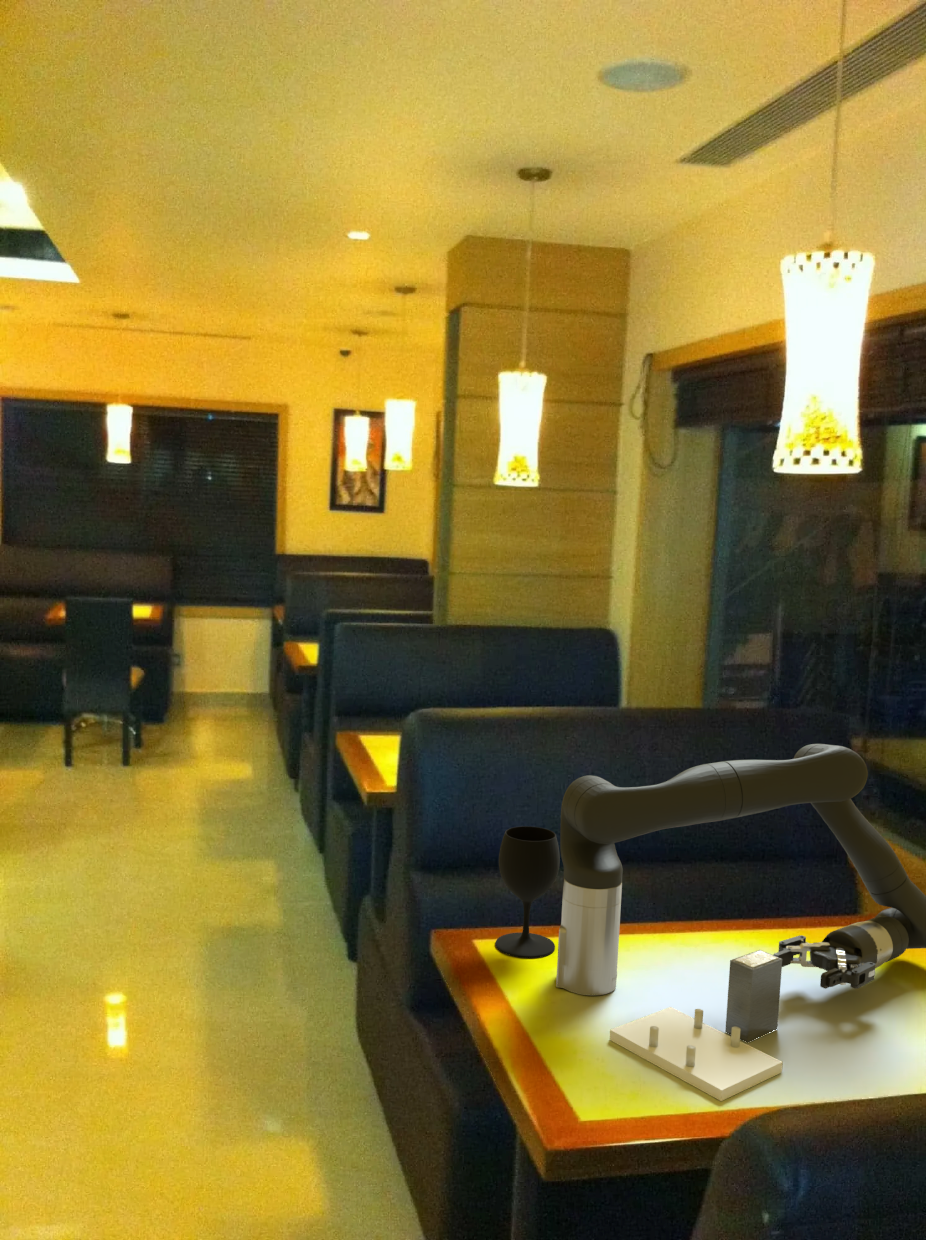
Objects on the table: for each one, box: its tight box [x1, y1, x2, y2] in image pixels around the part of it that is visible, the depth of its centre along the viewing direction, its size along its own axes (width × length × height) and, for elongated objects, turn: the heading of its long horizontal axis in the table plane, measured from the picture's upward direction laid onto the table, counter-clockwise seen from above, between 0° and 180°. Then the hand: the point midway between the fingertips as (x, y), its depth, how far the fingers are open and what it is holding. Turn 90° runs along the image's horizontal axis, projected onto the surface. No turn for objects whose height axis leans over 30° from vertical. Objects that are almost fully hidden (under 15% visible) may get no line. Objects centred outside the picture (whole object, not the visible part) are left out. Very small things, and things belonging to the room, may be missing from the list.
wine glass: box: [495, 825, 561, 959], centre depth 192 cm, size 10×10×20 cm
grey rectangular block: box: [724, 949, 783, 1044], centre depth 165 cm, size 4×7×11 cm, turn 129°
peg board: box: [609, 1006, 783, 1102], centre depth 157 cm, size 20×13×4 cm, turn 39°
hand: (798, 971), depth 171 cm, fingers open, 8 cm apart
